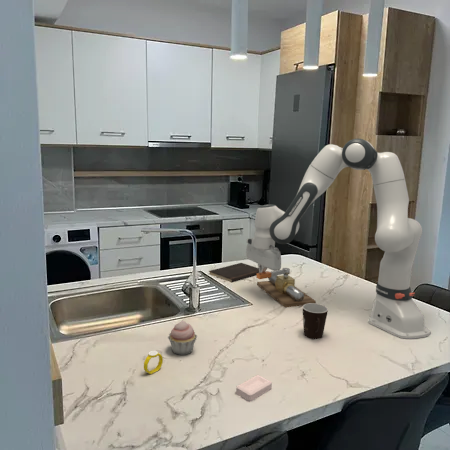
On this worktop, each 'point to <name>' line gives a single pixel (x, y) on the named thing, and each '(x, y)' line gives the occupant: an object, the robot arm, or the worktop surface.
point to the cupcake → (182, 338)
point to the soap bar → (253, 387)
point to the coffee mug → (314, 320)
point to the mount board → (283, 295)
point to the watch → (150, 355)
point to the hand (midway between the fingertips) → (262, 274)
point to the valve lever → (272, 273)
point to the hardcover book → (235, 272)
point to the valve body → (287, 286)
